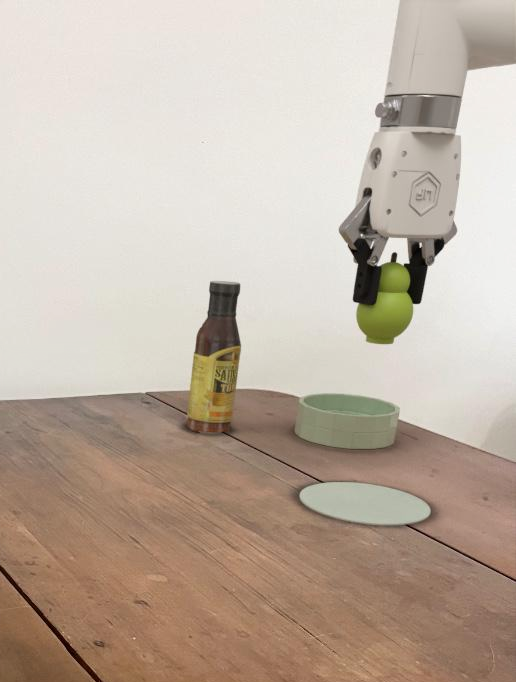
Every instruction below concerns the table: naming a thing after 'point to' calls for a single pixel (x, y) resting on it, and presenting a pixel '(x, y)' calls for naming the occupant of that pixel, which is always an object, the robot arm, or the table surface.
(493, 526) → the table surface
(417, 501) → the mat
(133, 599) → the table surface
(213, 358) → the sauce bottle
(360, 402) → the bowl
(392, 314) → the pear
